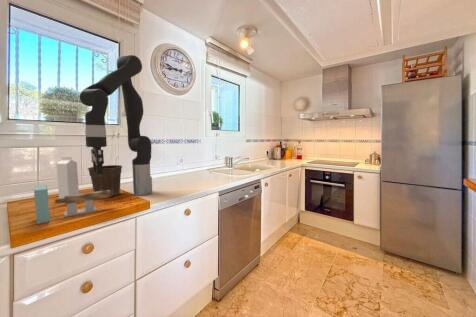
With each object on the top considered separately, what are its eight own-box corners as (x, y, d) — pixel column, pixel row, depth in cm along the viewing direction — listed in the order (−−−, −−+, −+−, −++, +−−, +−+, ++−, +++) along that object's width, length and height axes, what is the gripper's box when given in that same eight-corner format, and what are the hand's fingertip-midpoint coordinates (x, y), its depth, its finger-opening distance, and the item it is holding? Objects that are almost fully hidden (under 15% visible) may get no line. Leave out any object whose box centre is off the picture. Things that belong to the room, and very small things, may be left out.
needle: (109, 195, 97) (109, 189, 96) (110, 196, 95) (110, 190, 94) (55, 204, 84) (54, 197, 84) (55, 205, 82) (54, 198, 82)
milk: (69, 199, 108) (65, 157, 105) (58, 199, 108) (55, 157, 106) (79, 196, 114) (76, 156, 111) (69, 196, 114) (66, 156, 112)
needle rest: (95, 208, 94) (94, 197, 94) (97, 210, 91) (96, 199, 90) (64, 214, 87) (63, 202, 86) (64, 216, 83) (63, 204, 83)
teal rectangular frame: (49, 215, 85) (47, 185, 84) (49, 221, 79) (47, 189, 78) (37, 217, 83) (35, 186, 82) (37, 224, 76) (34, 190, 75)
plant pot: (85, 200, 105) (83, 169, 104) (93, 193, 120) (92, 165, 119) (121, 197, 111) (120, 168, 110) (125, 190, 126) (124, 164, 125)
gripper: (109, 136, 88) (111, 173, 89) (103, 136, 98) (104, 170, 100) (87, 135, 83) (90, 175, 84) (83, 136, 93) (85, 171, 95)
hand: (98, 172), depth 92 cm, fingers open, 8 cm apart
